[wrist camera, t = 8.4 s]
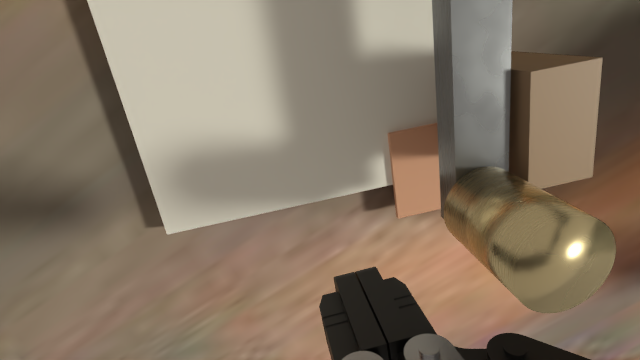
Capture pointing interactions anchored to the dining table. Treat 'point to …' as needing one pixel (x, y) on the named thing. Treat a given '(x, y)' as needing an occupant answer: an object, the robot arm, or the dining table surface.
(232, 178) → the plate
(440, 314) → the dining table surface
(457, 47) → the bar
